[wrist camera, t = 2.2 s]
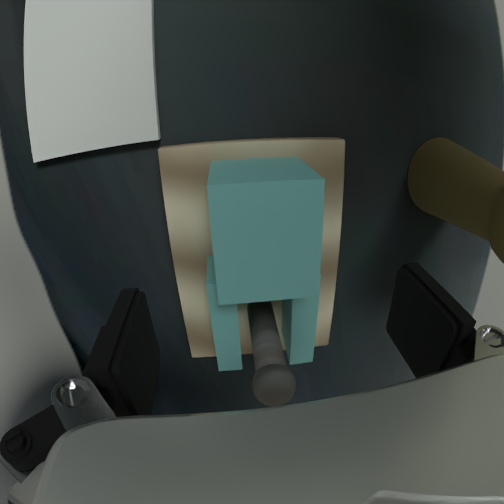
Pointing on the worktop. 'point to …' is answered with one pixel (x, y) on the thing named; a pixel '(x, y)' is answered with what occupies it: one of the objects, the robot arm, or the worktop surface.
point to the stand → (200, 246)
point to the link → (264, 250)
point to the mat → (89, 75)
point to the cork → (459, 189)
